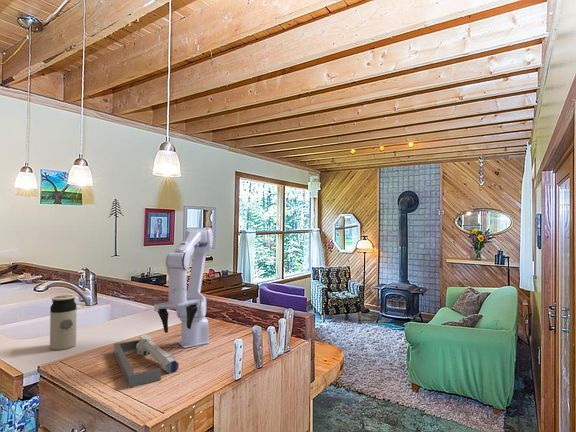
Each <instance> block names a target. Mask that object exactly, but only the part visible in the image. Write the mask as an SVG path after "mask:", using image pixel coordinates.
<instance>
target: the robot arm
mask: <svg viewBox="0 0 576 432" xmlns="http://www.w3.org/2000/svg"><path fill="white" fill-rule="evenodd" d="M213 233H214V231H213V230H212V228H210V227H208V228H205V227H204V228H201V227H200V228H198V227H197V228H191V227H187V228H186V230H185V231H184V239H185V241H183V240H182V241H181V242H180V243H179V244H178V245H177V247H176V248H175V249H174V251H173V252H169V253H168V254H167V255H166V256H165V257H166V258H165V268H166V274H167V276H168V301H165V302H161V303H155V304H153V310H154V312H157V313H158V315H159V317H160V320H161V324H162V327H163V332H164V333H165V334H166V333H168V332H169V323H168V322H169V312H168V310H173V309H175V310H176V311H175V313H176V316H177V318H178V319H179V321H180V322H181V323H180V324H181V325H180V326H181V327H180V328H181V332H180V335H181V336H180V337H181V339H180V340H177V343H178V344H179V345H180V346H181V347H182V348H183V349H186V348H190V347H191V348H192V347H197V346H202V345H207V344H210V341H209V330H210V329H209V320H208V319H207V317H206V314H207V298H206V297H205V296H204V295H203V294H202V293H201V291H202V284H203V278H204V277H203V276H204V270H205V263H206V257H207V254H208V253H209V252H210V251H212V247H213V239H214V236H213V235H214V234H213ZM191 257H192V263H191ZM190 263H191V267H190ZM189 267H190V274H189V279H188V277H187V276H188V274H187V273H188V272H187V271H188V270H189ZM187 279H188V280H189V281H187ZM187 283H188V284H187ZM187 285H188V286H187Z"/></svg>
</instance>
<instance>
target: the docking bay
mask: <svg viewBox="0 0 576 432" xmlns="http://www.w3.org/2000/svg"><path fill="white" fill-rule="evenodd" d="M137 343H139V339H134V340H129V341H123V342H117V343H113V354H114V356H115V359H116V361H117V363H118V366H119V368H120V370H121V373H122V375H123V378H124V379H125V380H124V381H125V382H126V385H127V388H128V389H129V388H134V387H138V386H143V385H147V384H150V383H154V382H158V381H161V380H162V377H161V376H162V373H161V372H162V368H161V367H159V368H154V369H150V370H145V371H141V372H136V373H135V372H134V370H133V368H132V365H130V362H129V360H128V358H127V356H126V354H125V352H126V353H127V352H131V351H137V348H136V345H137Z"/></svg>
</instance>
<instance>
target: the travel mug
mask: <svg viewBox="0 0 576 432" xmlns="http://www.w3.org/2000/svg"><path fill="white" fill-rule="evenodd" d="M76 297H77V296H76V295H74V294H62V295H60V294H59V295H56V296H52V297H51V298H50V299H51V301H52V303H51V305H50V308H49V309H50V315H49V316H50V318H49V323H50V324H49V328H50V329H49V348H50V350H52V351H53V350H54V351H62V350H67V349H70V348H71V349H72V348H73V347H75V346H76V345H77V303H76V301H75V299H76Z"/></svg>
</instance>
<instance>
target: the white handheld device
mask: <svg viewBox="0 0 576 432" xmlns="http://www.w3.org/2000/svg"><path fill="white" fill-rule="evenodd" d="M138 340H139V343H137V345H136V348H137V350H136V355H138V356H142V357H143V356H149V355H151V357H152V358H154V360H155V361H156V362H157V363H158V364H159V366H160V369H161V370H163V371H165V372H166V373H168V374H169V375H170V374H173V373H176V372H177V371H178V370H179V366H180V363H179V362H178V361H177V360H176V358H175V357H174V356H173V355H172V354H169V353H168V352H166V351H165V350H163V349H162V348H161V347H159V345H157V344H156V343H155V342H154V341H152V337H151V335H149V334H142V335H140V337H139V339H138Z"/></svg>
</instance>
